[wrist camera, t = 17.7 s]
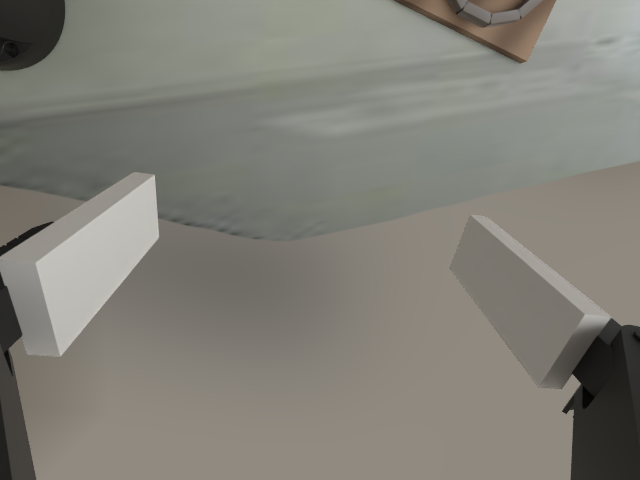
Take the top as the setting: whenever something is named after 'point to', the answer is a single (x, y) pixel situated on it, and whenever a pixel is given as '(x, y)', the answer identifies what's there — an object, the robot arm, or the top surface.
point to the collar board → (492, 36)
